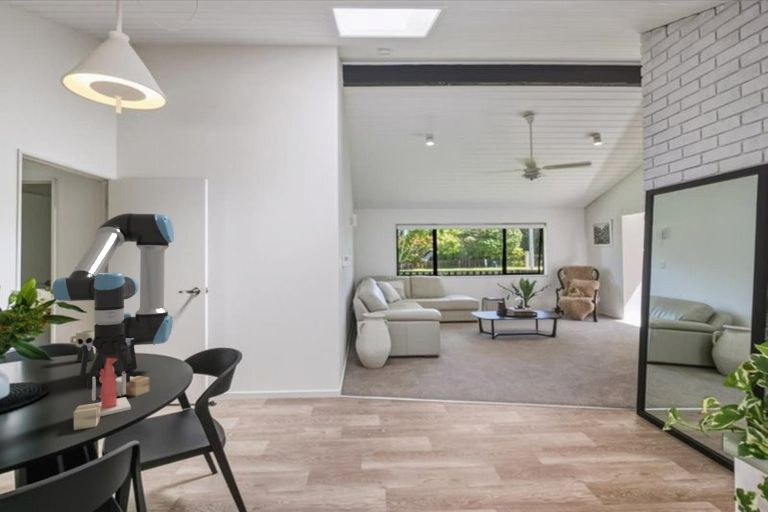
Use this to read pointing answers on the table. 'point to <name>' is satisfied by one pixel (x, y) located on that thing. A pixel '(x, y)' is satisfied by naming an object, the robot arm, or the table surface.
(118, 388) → the sage block
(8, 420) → the table surface
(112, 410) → the coaster
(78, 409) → the maple block
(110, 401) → the figurine
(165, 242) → the robot arm
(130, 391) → the oak block
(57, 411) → the table surface
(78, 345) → the character mug
